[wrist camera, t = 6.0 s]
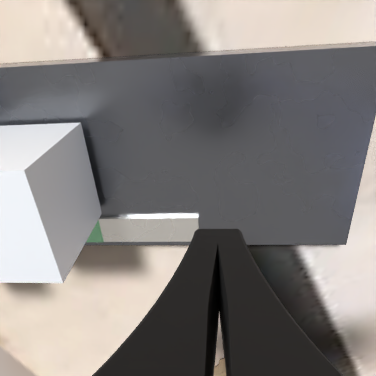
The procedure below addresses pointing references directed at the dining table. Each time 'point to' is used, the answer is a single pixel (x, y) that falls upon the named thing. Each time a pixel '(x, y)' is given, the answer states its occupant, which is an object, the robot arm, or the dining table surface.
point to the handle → (220, 368)
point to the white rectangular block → (44, 201)
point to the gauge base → (212, 138)
